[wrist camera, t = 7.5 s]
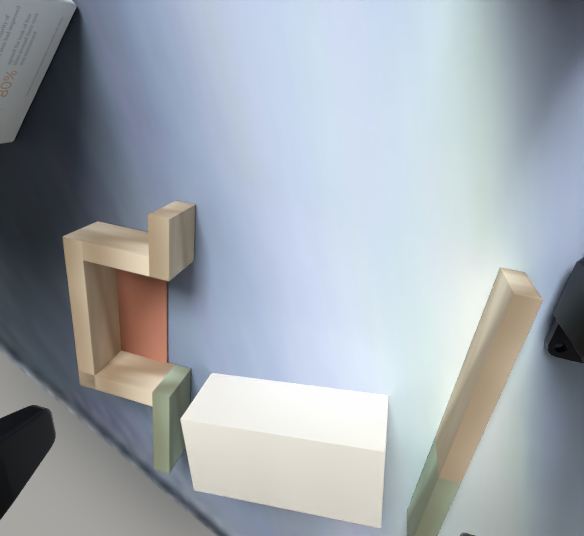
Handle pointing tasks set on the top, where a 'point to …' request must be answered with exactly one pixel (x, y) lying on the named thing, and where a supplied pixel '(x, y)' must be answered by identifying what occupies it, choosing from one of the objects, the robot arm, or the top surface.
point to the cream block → (289, 446)
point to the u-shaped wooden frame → (176, 379)
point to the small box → (26, 54)
